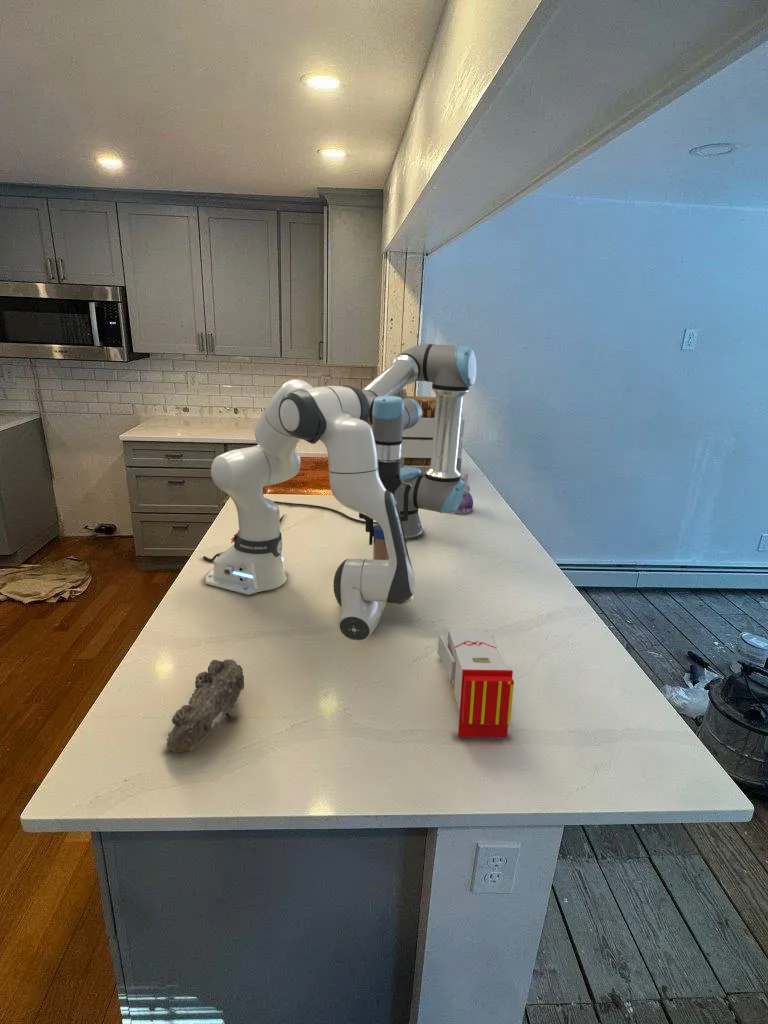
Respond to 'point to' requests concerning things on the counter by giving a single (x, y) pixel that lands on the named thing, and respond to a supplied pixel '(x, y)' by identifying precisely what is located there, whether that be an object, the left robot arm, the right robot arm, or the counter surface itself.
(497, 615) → the counter surface
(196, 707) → the fossil
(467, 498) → the figurine
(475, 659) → the toy
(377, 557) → the jar
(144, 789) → the counter surface
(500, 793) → the counter surface
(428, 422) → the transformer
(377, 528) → the lid
